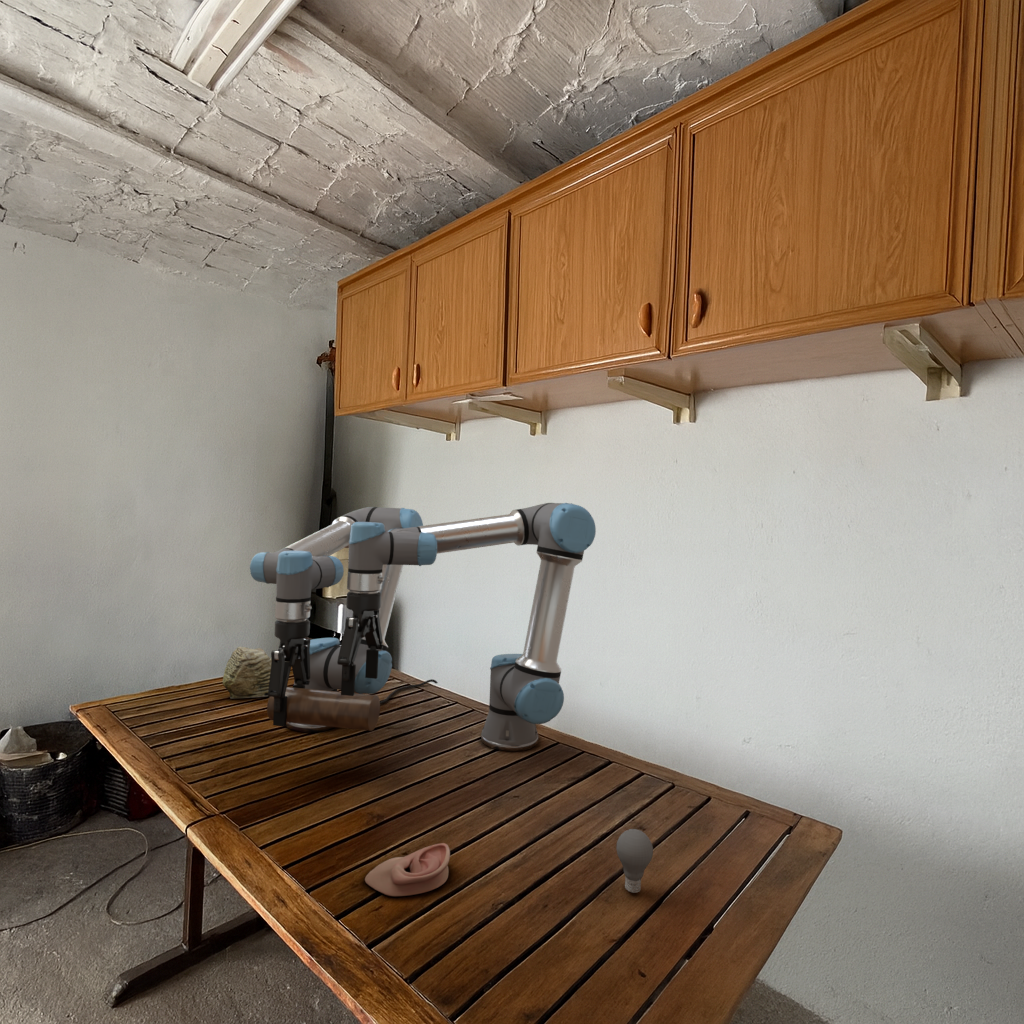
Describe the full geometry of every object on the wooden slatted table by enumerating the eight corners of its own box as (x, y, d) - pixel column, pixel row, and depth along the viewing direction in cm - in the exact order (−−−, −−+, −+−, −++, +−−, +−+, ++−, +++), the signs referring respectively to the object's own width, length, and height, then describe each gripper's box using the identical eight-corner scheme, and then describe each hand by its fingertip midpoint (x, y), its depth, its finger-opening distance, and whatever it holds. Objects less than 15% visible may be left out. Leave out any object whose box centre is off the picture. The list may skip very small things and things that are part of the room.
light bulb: (610, 879, 108) (613, 822, 108) (644, 879, 109) (647, 822, 109) (619, 902, 102) (622, 840, 102) (655, 901, 103) (658, 840, 103)
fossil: (218, 695, 195) (220, 647, 195) (278, 685, 208) (279, 640, 207) (228, 703, 189) (230, 653, 188) (289, 692, 201) (290, 645, 201)
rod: (266, 725, 141) (267, 691, 141) (283, 714, 148) (284, 682, 148) (367, 735, 137) (368, 701, 137) (379, 723, 145) (380, 691, 145)
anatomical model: (357, 866, 102) (385, 830, 114) (356, 890, 102) (384, 852, 114) (435, 879, 100) (456, 841, 111) (434, 904, 100) (455, 864, 111)
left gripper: (285, 629, 133) (281, 737, 133) (328, 612, 153) (324, 706, 154) (252, 626, 134) (248, 733, 135) (299, 610, 154) (295, 703, 155)
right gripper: (358, 600, 128) (353, 704, 128) (398, 585, 153) (394, 672, 153) (323, 598, 129) (318, 701, 130) (369, 583, 154) (365, 670, 154)
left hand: (288, 718), depth 144 cm, fingers closed on rod, 8 cm apart
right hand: (360, 686), depth 141 cm, fingers open, 13 cm apart
